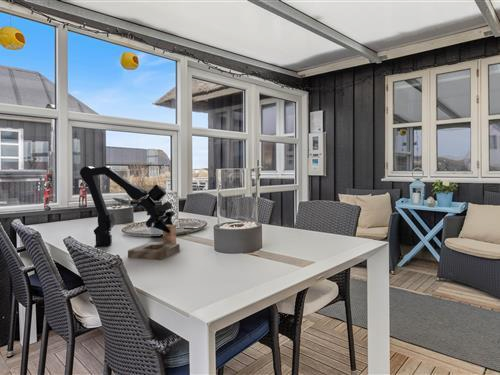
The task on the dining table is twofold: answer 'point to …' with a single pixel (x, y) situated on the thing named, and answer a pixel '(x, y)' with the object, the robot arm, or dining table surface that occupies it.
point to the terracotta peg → (170, 234)
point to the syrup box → (155, 230)
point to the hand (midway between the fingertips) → (172, 231)
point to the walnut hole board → (153, 250)
